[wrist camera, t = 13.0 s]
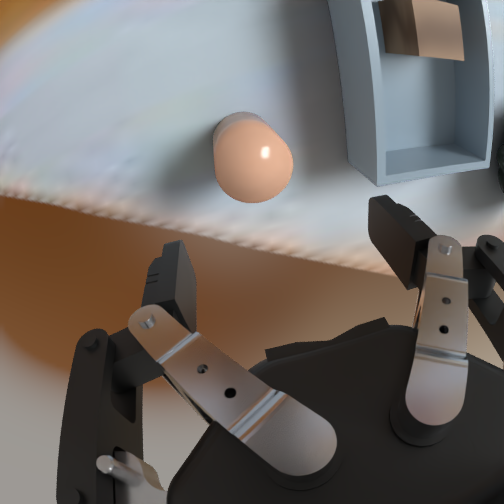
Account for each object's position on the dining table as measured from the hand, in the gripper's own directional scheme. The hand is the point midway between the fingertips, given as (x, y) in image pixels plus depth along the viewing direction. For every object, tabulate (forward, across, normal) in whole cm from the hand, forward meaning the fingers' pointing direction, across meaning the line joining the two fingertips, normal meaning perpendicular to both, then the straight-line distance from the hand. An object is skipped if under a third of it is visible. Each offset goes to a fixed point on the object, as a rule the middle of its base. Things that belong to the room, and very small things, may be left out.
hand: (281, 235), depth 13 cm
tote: (+15, -16, -5) cm, 23 cm away
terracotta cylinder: (+15, 0, 0) cm, 15 cm away
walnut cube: (+14, -16, -9) cm, 23 cm away
